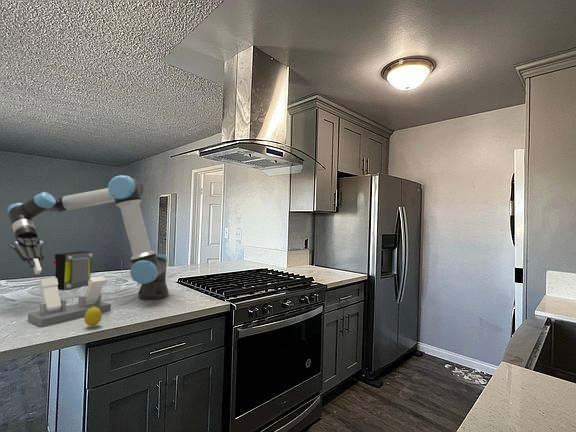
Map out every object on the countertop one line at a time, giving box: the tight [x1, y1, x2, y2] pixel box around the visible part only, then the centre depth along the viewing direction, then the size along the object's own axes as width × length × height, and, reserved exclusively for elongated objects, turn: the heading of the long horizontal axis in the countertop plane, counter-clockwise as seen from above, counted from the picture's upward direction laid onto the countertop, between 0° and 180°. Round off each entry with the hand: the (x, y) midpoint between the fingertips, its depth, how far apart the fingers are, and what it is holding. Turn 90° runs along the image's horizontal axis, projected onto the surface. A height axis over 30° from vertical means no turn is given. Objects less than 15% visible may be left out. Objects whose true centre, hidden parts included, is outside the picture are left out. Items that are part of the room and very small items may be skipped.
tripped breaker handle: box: [37, 277, 62, 312], centre depth 123 cm, size 3×6×13 cm, turn 150°
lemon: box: [84, 306, 103, 328], centre depth 116 cm, size 6×6×8 cm
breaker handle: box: [83, 275, 107, 304], centre depth 132 cm, size 3×6×13 cm, turn 149°
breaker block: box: [27, 292, 112, 328], centre depth 128 cm, size 12×26×8 cm, turn 150°
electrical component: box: [53, 250, 94, 291], centre depth 178 cm, size 18×10×20 cm, turn 168°
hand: (38, 272), depth 129 cm, fingers closed
